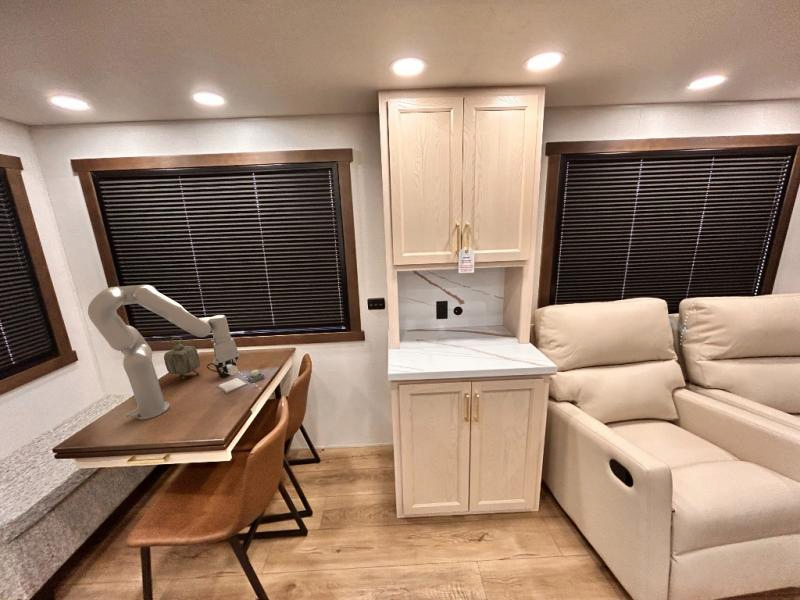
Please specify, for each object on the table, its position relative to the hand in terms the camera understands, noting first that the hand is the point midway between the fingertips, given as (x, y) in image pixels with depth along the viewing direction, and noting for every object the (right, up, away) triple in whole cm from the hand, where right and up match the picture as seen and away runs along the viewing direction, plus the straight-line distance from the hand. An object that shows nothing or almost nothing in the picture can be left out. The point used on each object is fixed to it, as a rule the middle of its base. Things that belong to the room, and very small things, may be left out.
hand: (230, 370), depth 161 cm
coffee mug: (-13, -6, +16) cm, 21 cm away
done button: (+10, -5, +8) cm, 13 cm away
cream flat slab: (0, -9, +3) cm, 9 cm away
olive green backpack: (-35, -8, +16) cm, 39 cm away
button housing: (+10, -6, +8) cm, 14 cm away
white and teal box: (0, -1, 0) cm, 1 cm away
